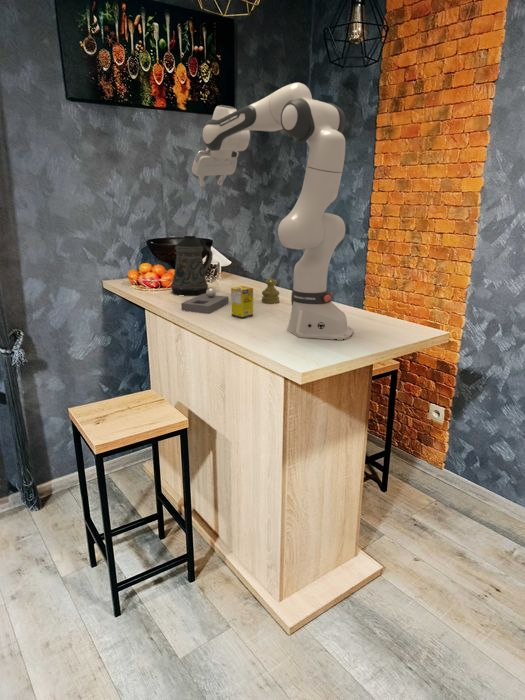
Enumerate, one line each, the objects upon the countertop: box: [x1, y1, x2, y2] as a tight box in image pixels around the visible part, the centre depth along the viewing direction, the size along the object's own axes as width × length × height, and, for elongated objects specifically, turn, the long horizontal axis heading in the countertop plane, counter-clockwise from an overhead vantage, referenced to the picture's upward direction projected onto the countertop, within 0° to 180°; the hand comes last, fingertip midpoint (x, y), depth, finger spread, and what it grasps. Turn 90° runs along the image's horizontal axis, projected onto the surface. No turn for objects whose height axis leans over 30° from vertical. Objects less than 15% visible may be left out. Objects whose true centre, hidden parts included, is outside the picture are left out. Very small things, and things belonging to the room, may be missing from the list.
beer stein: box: [170, 235, 213, 297], centre depth 221 cm, size 16×19×25 cm
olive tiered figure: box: [261, 277, 280, 305], centre depth 207 cm, size 7×7×10 cm
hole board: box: [180, 294, 229, 314], centre depth 198 cm, size 12×18×3 cm, turn 159°
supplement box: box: [230, 285, 254, 320], centre depth 184 cm, size 6×6×11 cm
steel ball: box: [206, 287, 217, 297], centre depth 201 cm, size 4×4×4 cm
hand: (210, 185), depth 196 cm, fingers open, 8 cm apart
